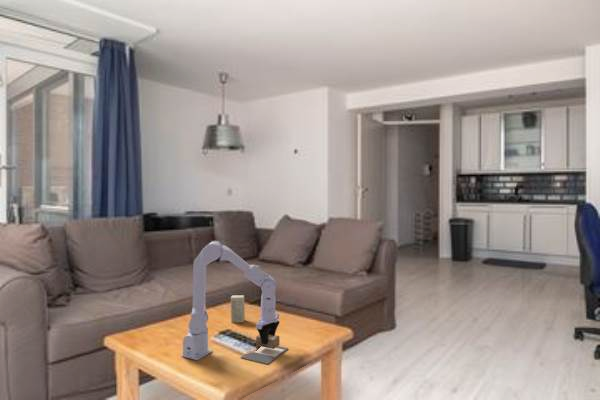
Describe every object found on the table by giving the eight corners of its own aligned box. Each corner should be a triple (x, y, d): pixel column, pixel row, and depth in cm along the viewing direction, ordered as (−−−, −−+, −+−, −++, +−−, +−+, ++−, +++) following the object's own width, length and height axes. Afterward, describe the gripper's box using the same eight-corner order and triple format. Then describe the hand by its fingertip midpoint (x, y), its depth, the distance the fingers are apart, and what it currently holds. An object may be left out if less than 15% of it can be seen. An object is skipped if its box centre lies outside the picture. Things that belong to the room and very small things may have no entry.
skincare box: (244, 319, 199) (245, 294, 198) (243, 322, 194) (244, 297, 194) (231, 319, 198) (231, 294, 198) (230, 322, 194) (230, 297, 194)
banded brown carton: (256, 345, 161) (256, 336, 161) (262, 341, 165) (262, 332, 165) (273, 349, 157) (273, 339, 157) (279, 345, 161) (279, 336, 161)
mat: (267, 364, 150) (267, 363, 150) (240, 358, 155) (240, 357, 155) (288, 349, 164) (288, 348, 164) (262, 343, 169) (262, 342, 169)
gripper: (267, 314, 152) (267, 350, 153) (285, 304, 165) (285, 337, 166) (251, 311, 155) (251, 346, 156) (270, 301, 168) (270, 334, 169)
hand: (267, 341), depth 161 cm, fingers closed on banded brown carton, 4 cm apart
